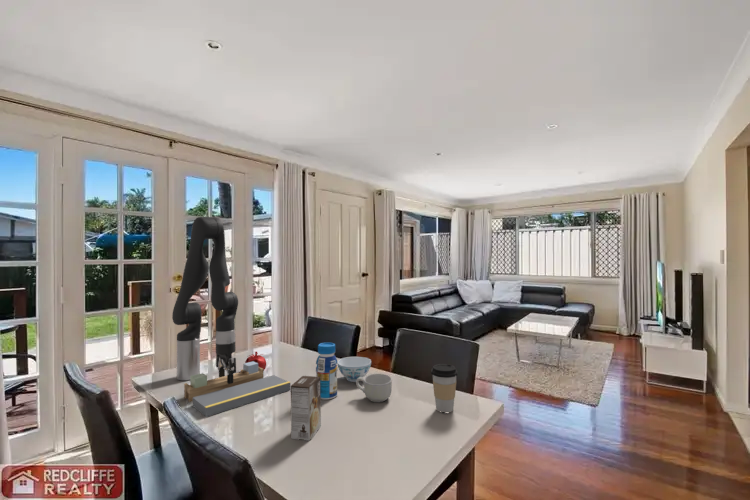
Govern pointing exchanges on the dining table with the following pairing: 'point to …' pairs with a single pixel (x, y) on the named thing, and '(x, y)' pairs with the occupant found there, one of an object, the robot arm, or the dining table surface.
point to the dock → (239, 395)
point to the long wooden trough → (221, 383)
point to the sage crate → (198, 380)
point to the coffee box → (305, 407)
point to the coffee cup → (444, 386)
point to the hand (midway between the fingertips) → (226, 380)
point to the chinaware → (354, 367)
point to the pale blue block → (250, 367)
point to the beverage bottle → (327, 370)
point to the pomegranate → (257, 360)
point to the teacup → (376, 386)
